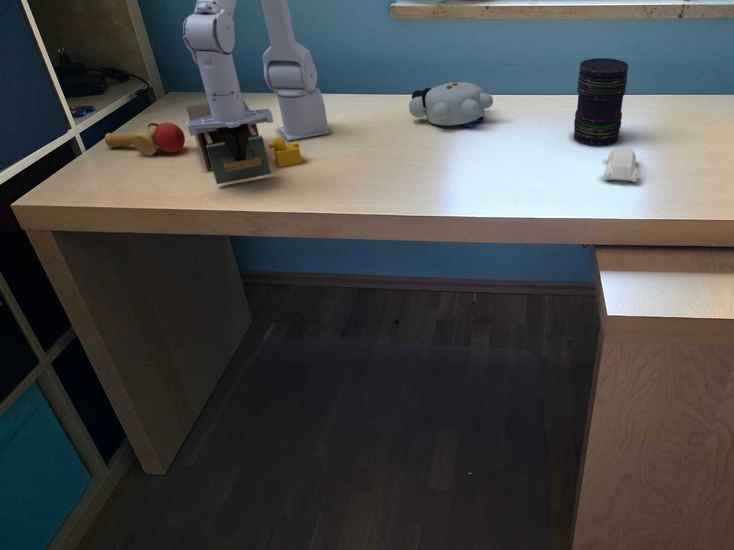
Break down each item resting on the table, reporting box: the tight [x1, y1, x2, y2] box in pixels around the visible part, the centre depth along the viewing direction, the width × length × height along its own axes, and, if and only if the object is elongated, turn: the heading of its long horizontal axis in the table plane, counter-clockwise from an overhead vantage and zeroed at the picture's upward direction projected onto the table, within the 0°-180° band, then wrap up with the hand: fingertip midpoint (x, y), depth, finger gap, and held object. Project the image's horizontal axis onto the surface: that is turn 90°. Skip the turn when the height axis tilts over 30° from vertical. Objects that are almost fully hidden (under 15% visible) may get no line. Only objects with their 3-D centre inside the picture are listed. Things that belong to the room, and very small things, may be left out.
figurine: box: [408, 81, 494, 128], centre depth 146 cm, size 17×8×20 cm
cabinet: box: [185, 98, 260, 172], centre depth 131 cm, size 13×11×9 cm
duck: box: [267, 137, 303, 168], centre depth 129 cm, size 6×3×5 cm, turn 116°
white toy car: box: [603, 147, 639, 183], centre depth 122 cm, size 12×6×5 cm, turn 168°
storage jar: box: [573, 57, 629, 147], centre depth 133 cm, size 10×10×15 cm
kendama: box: [104, 120, 186, 157], centre depth 135 cm, size 8×6×18 cm
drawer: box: [203, 125, 272, 185], centre depth 123 cm, size 17×10×7 cm, turn 26°
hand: (241, 166), depth 119 cm, fingers closed, pressing on drawer
